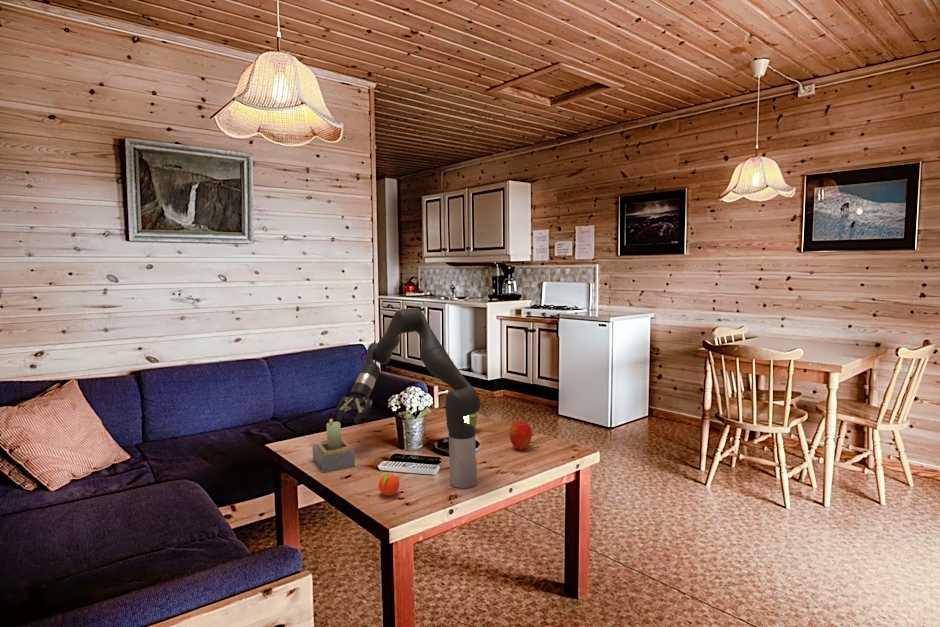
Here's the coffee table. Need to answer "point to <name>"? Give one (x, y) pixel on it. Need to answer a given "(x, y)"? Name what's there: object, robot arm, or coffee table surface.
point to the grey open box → (333, 457)
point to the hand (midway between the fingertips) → (347, 421)
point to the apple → (520, 435)
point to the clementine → (389, 484)
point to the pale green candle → (333, 435)
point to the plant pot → (473, 419)
